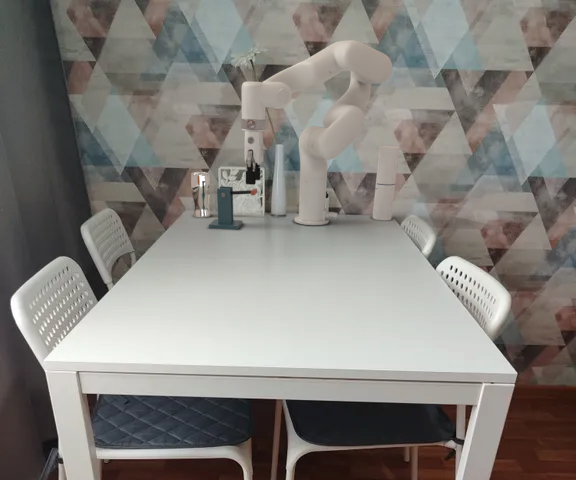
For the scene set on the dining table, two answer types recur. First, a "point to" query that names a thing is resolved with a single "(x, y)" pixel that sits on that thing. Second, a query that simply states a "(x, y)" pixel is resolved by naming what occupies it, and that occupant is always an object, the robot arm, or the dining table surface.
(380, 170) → the cylindrical container
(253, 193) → the lever
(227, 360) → the dining table surface
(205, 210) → the metal tumbler
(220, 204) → the bracket
